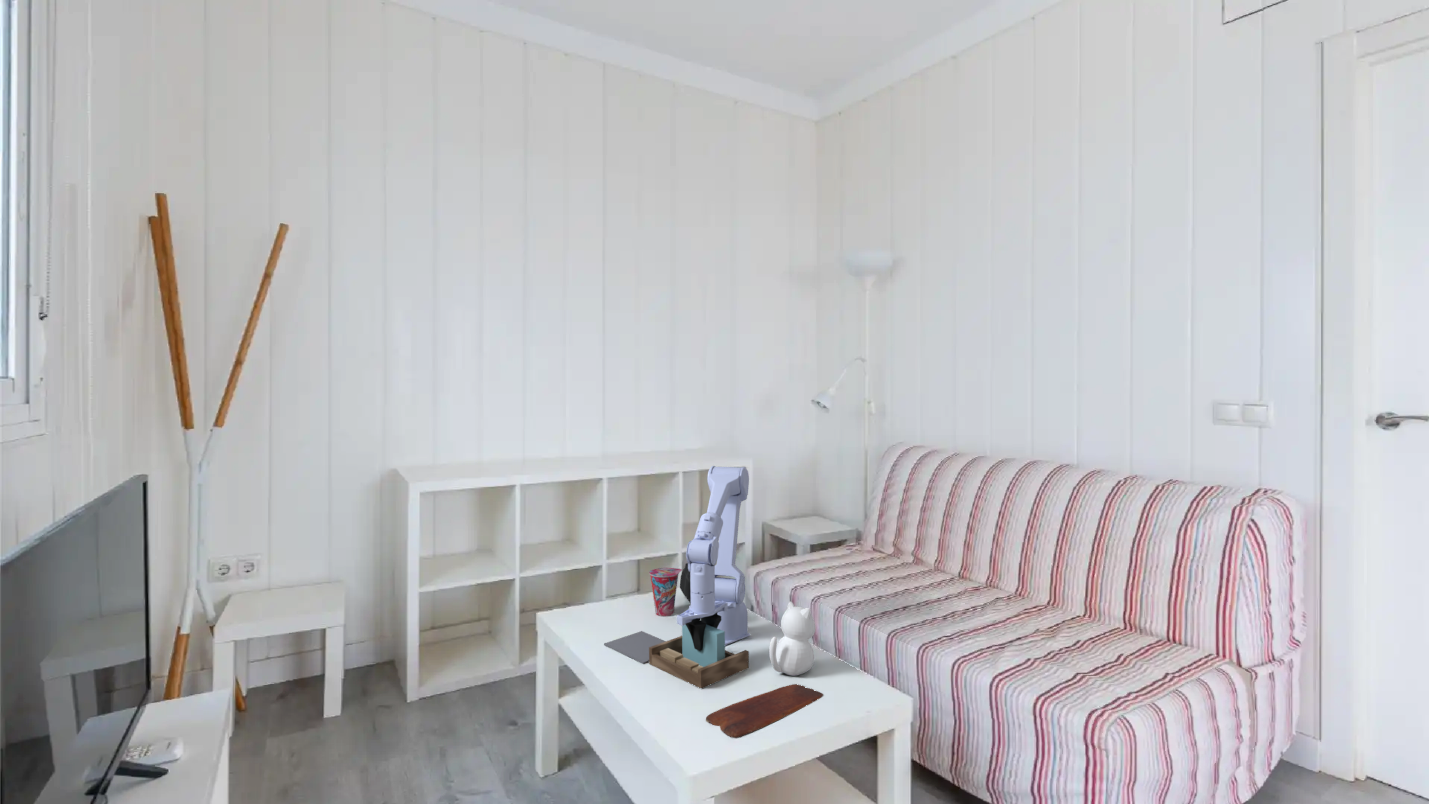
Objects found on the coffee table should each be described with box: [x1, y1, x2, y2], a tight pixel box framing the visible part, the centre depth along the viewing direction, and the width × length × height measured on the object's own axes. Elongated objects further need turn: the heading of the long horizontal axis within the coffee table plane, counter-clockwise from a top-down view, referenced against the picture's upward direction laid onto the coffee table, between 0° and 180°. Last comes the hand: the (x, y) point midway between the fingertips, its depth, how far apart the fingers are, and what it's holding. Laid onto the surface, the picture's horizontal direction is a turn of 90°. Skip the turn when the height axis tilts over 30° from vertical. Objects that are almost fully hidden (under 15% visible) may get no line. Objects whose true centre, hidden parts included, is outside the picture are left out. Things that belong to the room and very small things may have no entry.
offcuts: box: [660, 648, 702, 673], centre depth 161 cm, size 2×15×3 cm, turn 44°
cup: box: [649, 567, 683, 617], centre depth 199 cm, size 9×8×12 cm
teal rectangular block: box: [681, 625, 726, 667], centre depth 164 cm, size 2×12×9 cm, turn 44°
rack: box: [648, 635, 750, 689], centre depth 163 cm, size 15×18×4 cm
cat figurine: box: [768, 600, 816, 677], centre depth 160 cm, size 9×12×15 cm
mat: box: [603, 630, 667, 665], centre depth 175 cm, size 12×16×1 cm
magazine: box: [679, 562, 691, 605], centre depth 200 cm, size 17×3×30 cm
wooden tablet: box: [705, 683, 824, 739], centre depth 143 cm, size 27×10×2 cm, turn 130°
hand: (703, 647), depth 164 cm, fingers closed on teal rectangular block, 2 cm apart
